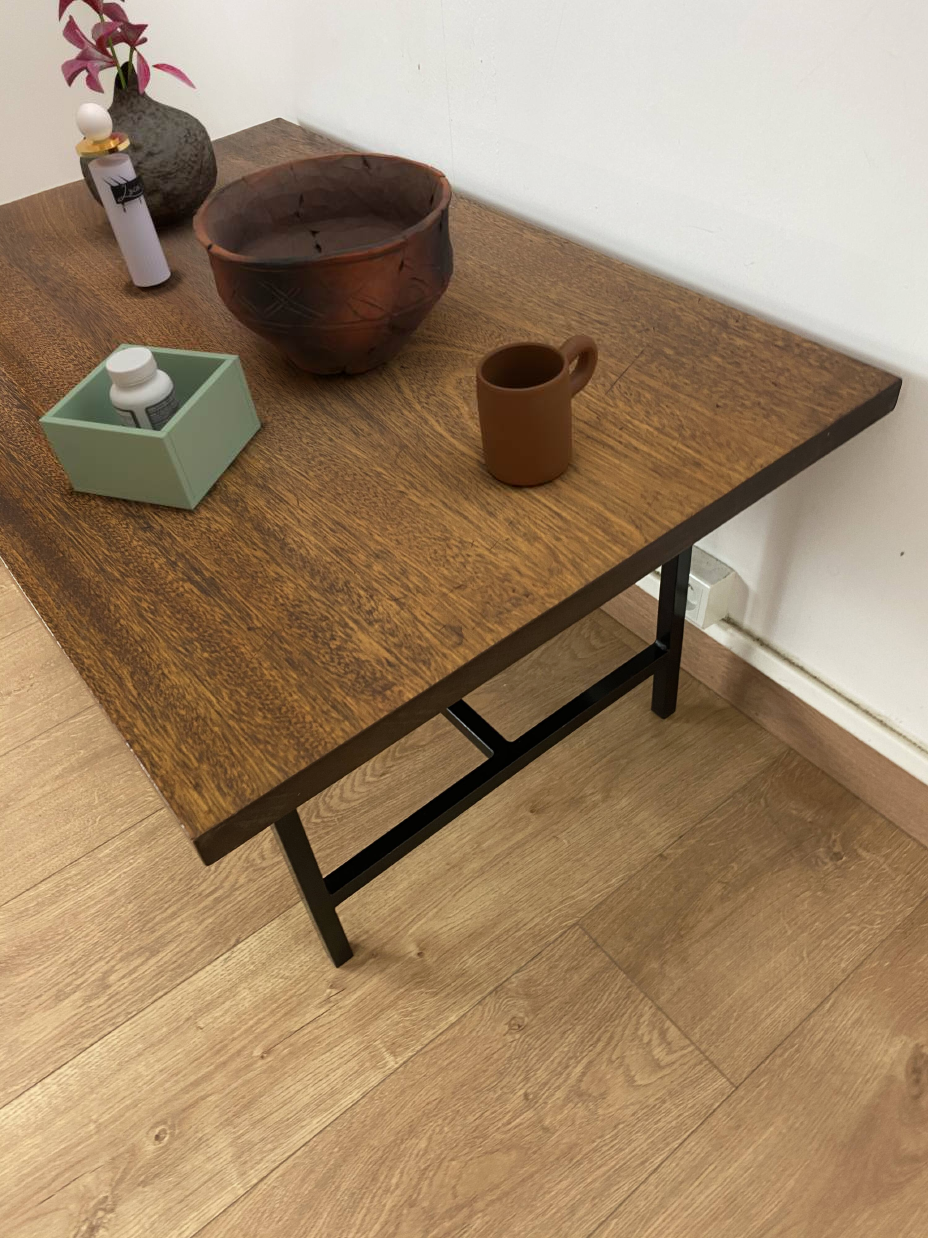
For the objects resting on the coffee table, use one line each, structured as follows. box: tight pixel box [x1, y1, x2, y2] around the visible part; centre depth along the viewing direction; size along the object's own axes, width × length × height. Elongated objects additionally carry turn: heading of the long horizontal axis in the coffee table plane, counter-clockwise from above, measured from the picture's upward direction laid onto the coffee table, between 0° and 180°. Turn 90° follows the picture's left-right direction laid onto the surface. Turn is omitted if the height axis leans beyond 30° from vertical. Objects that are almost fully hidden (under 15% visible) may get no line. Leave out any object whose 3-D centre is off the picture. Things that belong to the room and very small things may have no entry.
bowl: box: [192, 152, 454, 375], centre depth 90 cm, size 25×25×15 cm
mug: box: [475, 333, 599, 486], centre depth 75 cm, size 12×8×9 cm, turn 130°
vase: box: [58, 0, 219, 230], centre depth 113 cm, size 17×18×30 cm
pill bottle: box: [106, 347, 182, 431], centre depth 80 cm, size 5×5×10 cm
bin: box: [38, 343, 261, 511], centre depth 81 cm, size 13×13×8 cm
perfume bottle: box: [74, 102, 172, 287], centre depth 103 cm, size 6×6×20 cm
